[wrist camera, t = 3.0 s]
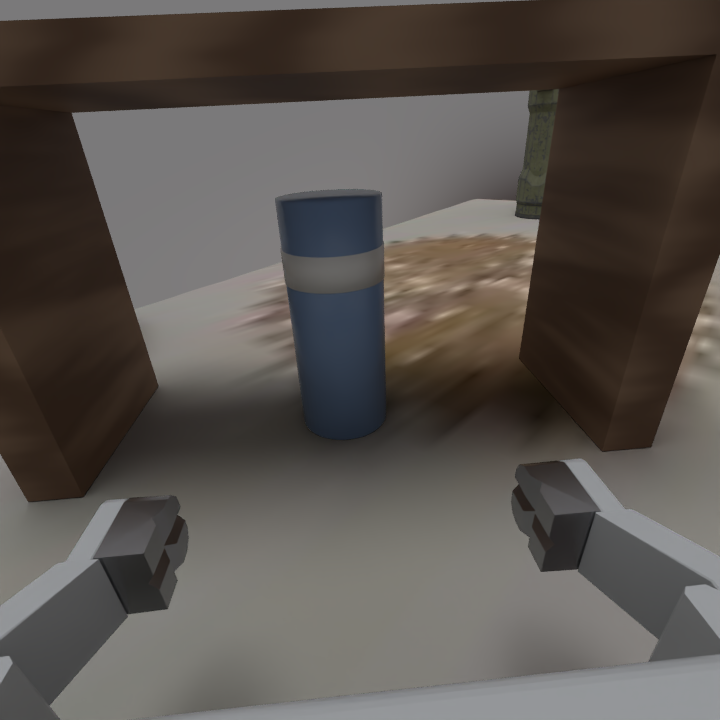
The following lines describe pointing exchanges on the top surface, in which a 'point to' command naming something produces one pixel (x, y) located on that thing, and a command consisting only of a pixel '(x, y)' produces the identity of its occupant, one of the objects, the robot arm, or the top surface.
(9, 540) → the top surface
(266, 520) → the top surface
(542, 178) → the thermos
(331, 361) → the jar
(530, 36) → the riser
